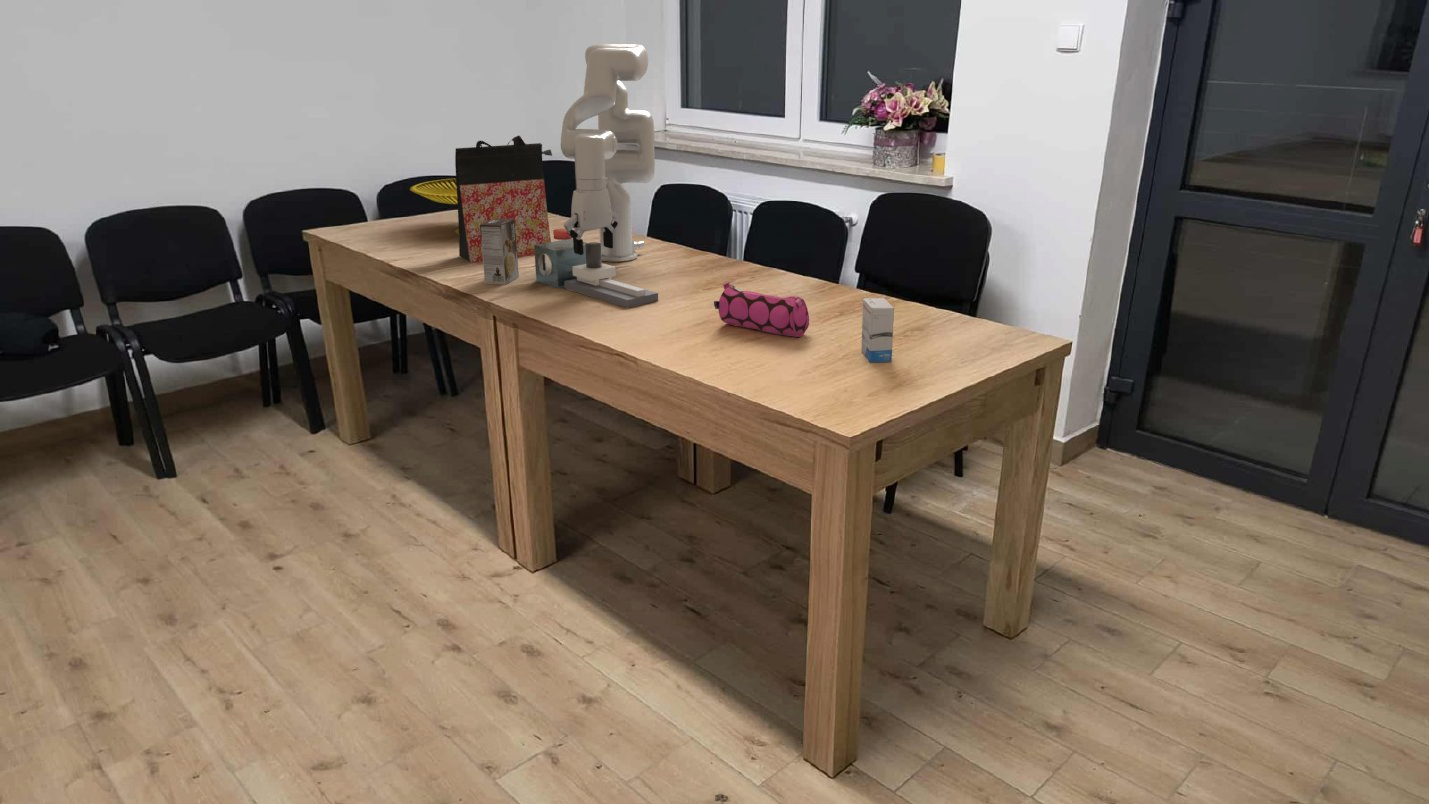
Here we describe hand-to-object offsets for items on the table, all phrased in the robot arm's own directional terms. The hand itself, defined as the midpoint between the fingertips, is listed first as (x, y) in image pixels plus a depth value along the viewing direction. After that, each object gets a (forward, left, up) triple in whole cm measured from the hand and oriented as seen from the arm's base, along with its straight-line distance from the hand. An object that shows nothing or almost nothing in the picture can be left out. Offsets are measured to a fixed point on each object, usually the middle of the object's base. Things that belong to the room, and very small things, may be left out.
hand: (593, 250), depth 255 cm
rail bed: (+1, +7, -10) cm, 12 cm away
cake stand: (-18, -88, -11) cm, 91 cm away
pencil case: (-5, +55, -11) cm, 57 cm away
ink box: (-8, +85, -11) cm, 86 cm away
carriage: (+1, +1, -8) cm, 8 cm away
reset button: (+1, -13, +1) cm, 13 cm away
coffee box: (+13, -25, -11) cm, 30 cm away
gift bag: (-7, -50, -11) cm, 52 cm away
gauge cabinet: (+1, -13, -10) cm, 16 cm away
